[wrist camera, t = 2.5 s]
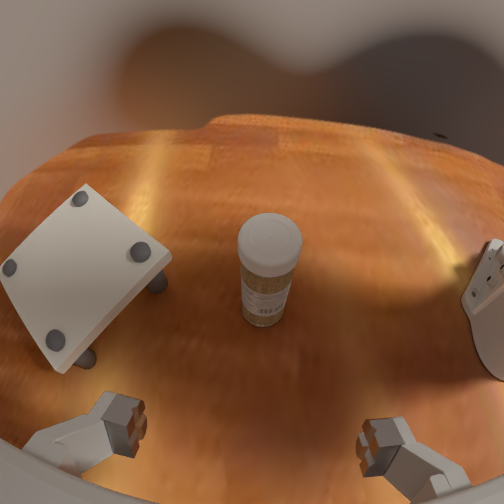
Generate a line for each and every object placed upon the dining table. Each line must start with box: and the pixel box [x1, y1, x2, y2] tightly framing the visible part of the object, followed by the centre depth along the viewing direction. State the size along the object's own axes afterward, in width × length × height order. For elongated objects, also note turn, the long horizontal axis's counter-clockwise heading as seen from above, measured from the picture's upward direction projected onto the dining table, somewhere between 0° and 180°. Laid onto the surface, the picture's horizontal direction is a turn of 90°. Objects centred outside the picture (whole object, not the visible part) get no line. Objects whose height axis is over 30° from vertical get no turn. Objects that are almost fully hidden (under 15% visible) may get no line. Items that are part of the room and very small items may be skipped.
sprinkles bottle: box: [238, 213, 302, 327], centre depth 27 cm, size 5×5×13 cm
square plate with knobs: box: [0, 184, 173, 374], centre depth 30 cm, size 16×16×7 cm
